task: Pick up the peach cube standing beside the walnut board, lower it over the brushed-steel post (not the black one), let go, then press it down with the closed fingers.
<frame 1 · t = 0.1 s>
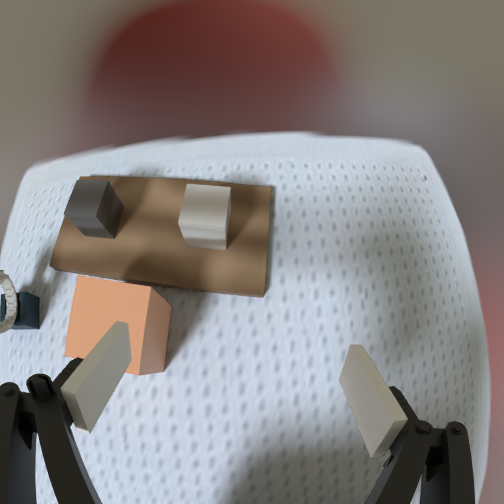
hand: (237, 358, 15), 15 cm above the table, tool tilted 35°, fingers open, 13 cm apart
watch: (26, 313, 29), on the table
peach cube: (136, 333, 30), on the table
post board: (155, 230, 35), on the table
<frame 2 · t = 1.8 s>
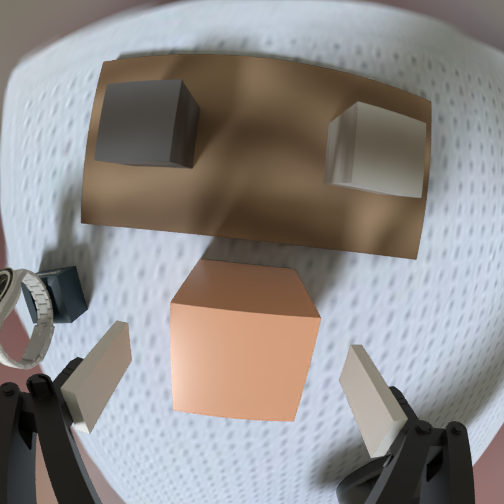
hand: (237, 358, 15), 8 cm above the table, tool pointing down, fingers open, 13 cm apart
watch: (61, 288, 23), on the table
peach cube: (242, 308, 23), on the table
post board: (260, 146, 21), on the table
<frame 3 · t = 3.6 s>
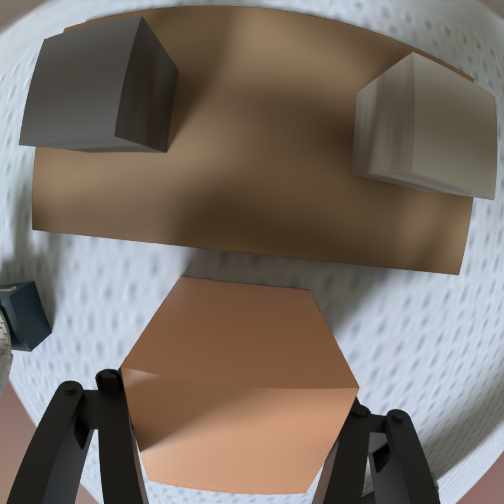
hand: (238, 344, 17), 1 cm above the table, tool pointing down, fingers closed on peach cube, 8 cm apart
watch: (23, 306, 17), on the table
peach cube: (238, 339, 17), on the table, touching gripper
post board: (263, 122, 14), on the table
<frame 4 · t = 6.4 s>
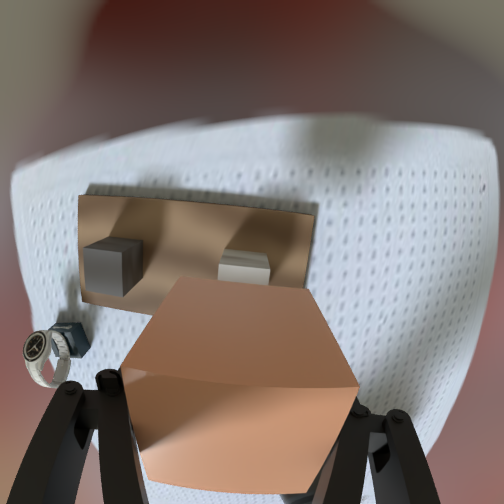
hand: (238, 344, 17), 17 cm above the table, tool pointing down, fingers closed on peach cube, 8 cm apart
watch: (72, 334, 36), on the table
peach cube: (238, 338, 17), point 16 cm above the table, touching gripper
post board: (184, 260, 33), on the table
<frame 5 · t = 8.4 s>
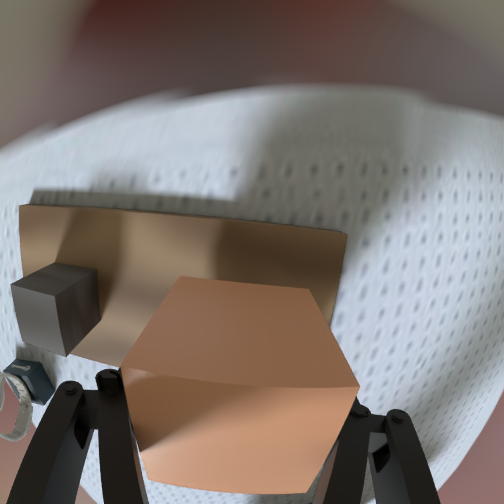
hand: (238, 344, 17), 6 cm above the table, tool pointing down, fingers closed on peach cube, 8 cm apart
watch: (34, 373, 25), on the table
peach cube: (238, 338, 17), point 5 cm above the table, touching gripper
post board: (155, 297, 22), on the table
when the fingers open (3 cm above the table, at t = 9.7 s): peach cube stays where it is, resting on post board.
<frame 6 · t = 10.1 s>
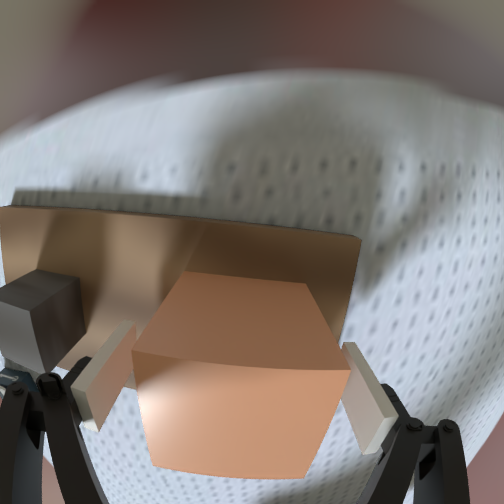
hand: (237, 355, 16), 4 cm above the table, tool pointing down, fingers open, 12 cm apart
watch: (24, 383, 22), on the table
peach cube: (239, 331, 18), point 1 cm above the table, touching post board
post board: (145, 308, 20), on the table
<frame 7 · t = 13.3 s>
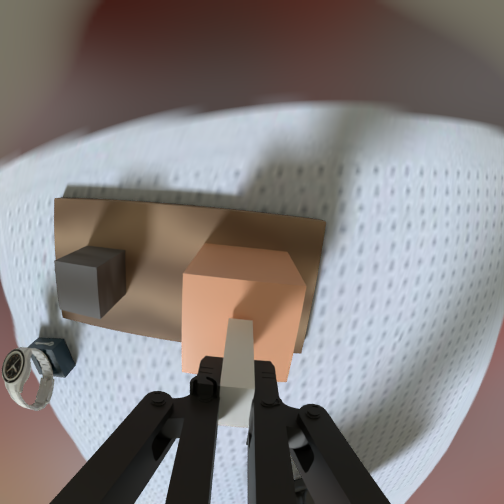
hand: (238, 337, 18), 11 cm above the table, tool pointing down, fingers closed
watch: (56, 350, 31), on the table
peach cube: (241, 286, 27), point 1 cm above the table, touching post board
post board: (173, 273, 28), on the table
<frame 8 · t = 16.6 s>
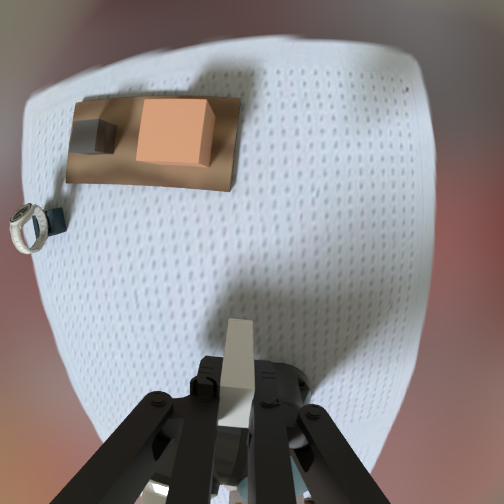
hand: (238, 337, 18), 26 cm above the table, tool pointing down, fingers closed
watch: (54, 221, 42), on the table
instant camera: (267, 477, 59), on the table
peach cube: (186, 140, 38), point 1 cm above the table, touching post board
post board: (145, 140, 39), on the table
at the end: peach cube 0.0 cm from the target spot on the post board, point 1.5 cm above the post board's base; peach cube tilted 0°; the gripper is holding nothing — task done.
